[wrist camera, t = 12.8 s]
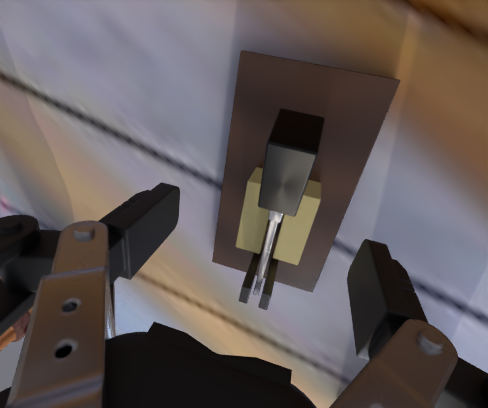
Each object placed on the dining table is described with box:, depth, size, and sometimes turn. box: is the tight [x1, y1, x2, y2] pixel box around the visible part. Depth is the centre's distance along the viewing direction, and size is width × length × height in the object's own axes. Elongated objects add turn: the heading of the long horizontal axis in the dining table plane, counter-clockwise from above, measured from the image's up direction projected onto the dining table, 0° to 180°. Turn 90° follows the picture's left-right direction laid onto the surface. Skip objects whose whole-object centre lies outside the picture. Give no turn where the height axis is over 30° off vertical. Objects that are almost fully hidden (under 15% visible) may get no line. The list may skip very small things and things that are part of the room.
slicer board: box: [212, 50, 400, 310], centre depth 23 cm, size 22×12×8 cm, turn 171°
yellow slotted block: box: [236, 167, 321, 265], centre depth 24 cm, size 7×6×4 cm
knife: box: [253, 108, 325, 296], centre depth 19 cm, size 19×2×5 cm, turn 171°
